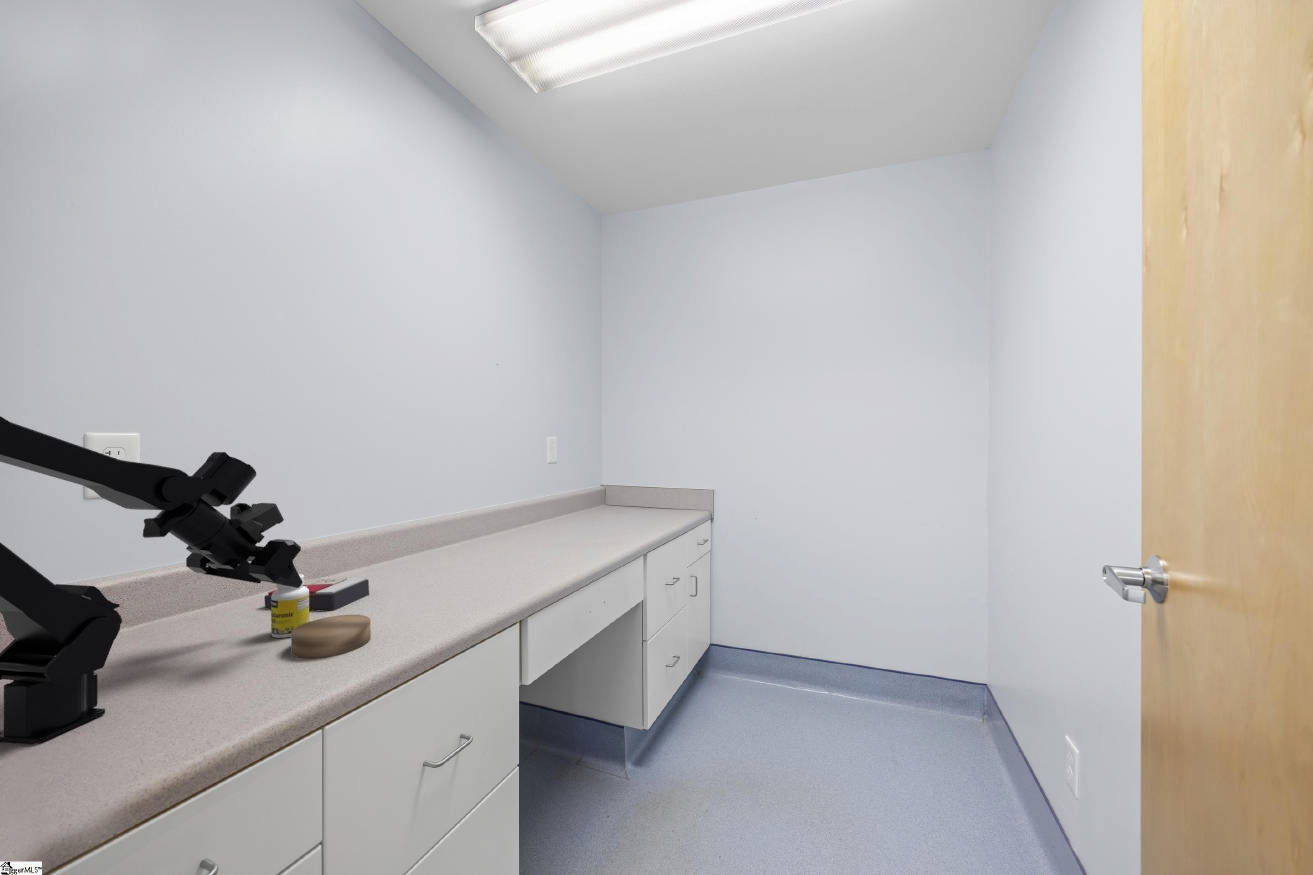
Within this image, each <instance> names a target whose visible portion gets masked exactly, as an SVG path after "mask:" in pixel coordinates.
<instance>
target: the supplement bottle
mask: <svg viewBox="0 0 1313 875" xmlns="http://www.w3.org/2000/svg"><path fill="white" fill-rule="evenodd" d="M298 574H299V576H300V578H301V580H302V582H303V583H302V585H301V586H300V587H299V588H295V587H289V586H284V585H279V584H275V585H276V586H275V587H276V588H277V589H278V590H277V589H275V590H276V591H275V592H274V593H273V594H272V596H271V609H270V610H271V611H270V613H271V614H270V617H271V618H270V619H271V620H270V621H271V622H270V624H271V625H270V630H271V631H270V632H271V636H272V638H277V639H287V638H291V632H292V631H293V630H294V629H295V628H296V627H298V626H300V625H302V624H305V623H307V622H310V609H309V589H308V588H307V587H304V586H303V584H304V580H305V574H302V573H298Z"/></svg>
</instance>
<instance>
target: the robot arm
mask: <svg viewBox="0 0 1313 875" xmlns="http://www.w3.org/2000/svg"><path fill="white" fill-rule="evenodd" d="M0 462H1V463H4V464H6V465H10V466H15V467H18V468H21V469H25V470H27V471H31V472H35V473H38V474H42V475H45V476H49V477H53V478H55V479H59V480H63V481H66V482H70V483H73V484H77V485H80V486H83V487H84V488H85V487H86V488H88V489H90V490H92V491H93V492H94V493H96V494H97V495H98V496H99V497H101V499H104V500H106V501H107V502H110V503H112V504H115V505H117V506H119V507H121V508H124V509H126V510H127V509H128V510H135V511H136V510H137V511H139V510H142V511H145V510H146V511H148V510H149V511H160V512H159V513H157V515H156V516H155V517H148V518H145V519H143V523H144V527H143V530H142V537H143V538H145V539H148V538H149V539H150V538H152V539H153V538H164V537H166V536H167V535H168V534H171V535H172V536H173V537H175V538H177V539H178V540H180V541H181V542H182V543H184V544H186V546H187V547H186V548H185V550H186V551H188V552H189V553H190V554H189V555H188V556H187V557H186V560H185V561H186V562H185V564H186V568H188V569H190V570H191V571H193V572H194V573H197V574H203V575H206V576H212V577H219V578H222V579H223V578H225V579H230V580H237V581H242V582H248V583H253V584H261V583H262V582H266V583H270V584H275V585H276V584H279V585H284V586H289V587H295V588H299V587H300V586H301V585H302V583H303V582H302V580H301V578H300V576H299V574H300V573H299V572H298V570H297V569H296V566H295V565H294V564H295V563H294V559H295V558H296V557H297V556H298V555H299V553H300V552H301V550H302V547H301V545H300V544H298V543H297V542H296V541H294V540H292V539H283V538H282V539H281V538H277V539H276V538H275V539H272V540H269V541H267V543H266V544H265V545H264V546H263V545H262V546H259V545H257V544H260V543H261V542H262V541H263V539H265V535H264V534H263V533H264V532H266V531H268V530H270V529H271V528H273V527H274V526H276V525H280V524H281V523H283V522H284V520H285V519H284V517H283V515H282V512H281V511H280V509H279V507H278V505H277V503H272V502H260V503H252V504H248V503H245V502H238V503H236V504H234V502H235V501H236V500H237V499H238V497H240V495H241V494H242V493H243V492H244V491H245V490H246V489H247V487H248V486H249V485H250V484H251V483H252V482H253V480H254V479H255V478H256V477H257V471H256V469H255V468H254V467H253V466H252V465H251V464H249V463H246V462H245V461H243V460H241V459H238V458H237V457H233V456H230V455H229V454H228V453H227V452H226V451H214V452H212V453H211V454H210V455H209V456H208V458H206V460H205V461H204V463H203V464H202V465H201V466H199V468H198V469H197V470H196V471H195V472H194V473H193V474H192V475H188V473H186V472H185V471H183V470H181V469H178V468H174V467H169V466H163V465H159V464H153V463H152V464H151V463H145V462H144V463H143V462H138V461H137V462H135V461H129V460H124V459H118V458H116V457H113V456H110V455H107V454H105V453H104V454H103V453H101V452H99V451H95V450H92V449H89V448H86V447H83V446H81V445H77V444H75V443H71V442H69V441H67V440H64V439H60V438H57V437H54V436H51V435H49V434H47V433H46V434H45V433H43V432H41V431H38V430H34V429H31V428H29V427H25V426H23V425H19V424H17V423H14V422H11V421H9V420H8V419H6V418H4V417H3V416H1V415H0ZM232 504H234V505H232ZM230 505H231V506H230ZM221 506H230V510H229V517H227V516H226V515H224V514H223V513H222V512H221V511H219V510H218V509H216V508H218V507H221ZM120 606H121V605H120V604H119V603H115V602H112V601H111V600H109V599H107V597H105V595H104V594H103V593H102V591H101V590H100V589H98V588H97V587H96V586H95V585H83V584H82V585H80V584H67V583H66V584H64V583H63V584H60V583H54V582H52V581H51V580H50V579H48V577H45V576H44V575H43V574H42V573H40V571H38V569H36V568H35V567H33V566H32V565H31V564H29V563H28V562H26V561H25V560H24V559H23V558H21V557H20V556H19V555H18V554H16V553H15V552H13V551H12V550H11V549H9V547H8V546H6V545H4V544H3V543H2V542H0V614H1V615H2V618H3V622H4V624H5V627H6V631H7V632H8V633H9V634H10V636H11V637H12V638H13V640H12V641H11V642H10V643H9V644H8V645H7V646H6V647H5V648H4V649H3V650H2V651H0V680H2V681H3V680H4V681H5V680H7V681H11V682H9V683H5V684H4V685H3V730H0V742H1V741H2V742H15V743H30V744H31V743H33V744H38V743H42V742H45V741H47V740H49V739H51V738H53V737H56V736H58V735H61V734H62V733H65V732H67V731H69V730H72V729H74V728H76V727H78V726H81V725H82V724H85V723H87V722H89V721H91V720H94V719H95V718H98V717H100V716H103V715H104V714H106V708H98V703H99V700H98V698H99V697H98V691H99V689H98V686H99V684H98V683H99V681H98V680H99V679H98V676H99V675H98V673H97V672H96V671H97V670H100V669H103V668H104V667H105V665H106V662H107V659H108V656H109V654H110V651H111V649H112V646H113V644H114V641H115V640H116V638H117V637H118V634H119V633H120V631H121V630H120V629H121V624H122V623H123V618H122V616H121V614H120V613H119V612H118V610H116V609H117V608H120Z"/></svg>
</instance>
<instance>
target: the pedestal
mask: <svg viewBox="0 0 1313 875" xmlns="http://www.w3.org/2000/svg"><path fill="white" fill-rule="evenodd" d="M371 625H372V624H371V618H370V617H369V616H367V615H363V614H342V615H332V616H326V617H322V618H318V619H314V620H309V622H307V623H305V624H302V625H300V626H298V627H296V628H295V629H294V630H293V631H292V632H291V637H290V640H291V642H290V643H291V644H290V648H291V649H290V650H291V651H290V652H291V655H292V656H293V657H296V658H300V659H320V658H328V657H333V656H338V655H343V654H346V653H348V652H349V653H350V652H353V651H355V650H358V649H360V648H362V647H364V646H365V645H366V644H368V643H369V642H371V636H372V635H371V630H372V629H371Z"/></svg>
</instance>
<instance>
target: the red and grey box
mask: <svg viewBox="0 0 1313 875" xmlns="http://www.w3.org/2000/svg"><path fill="white" fill-rule="evenodd" d="M303 586H304V587H307V588H308V589H309V610H313V611H317V610H320V611H321V610H323V611H321V612H329V611H330V612H333V611H334V612H335V611H337V610H339V609H341V608H343V607H346V606H347V605H348V606H349V605H350V604H352V603H354V602H356V601H359V600H361V599H364V598H365V597H369V595H370V587H369V586H370V584H369V579H367V578H366V577H363V578H359V577H358V578H347V577H339V578H338V577H337V578H335V577H334V578H332V577H331V578H306V579H304V584H303ZM276 590H278V588H277V589H275V590H271V591H269V592H267V595H264V609H265V608H269V609H268V610H271V596H272V594H273V593H274V592H275V591H276Z"/></svg>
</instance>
